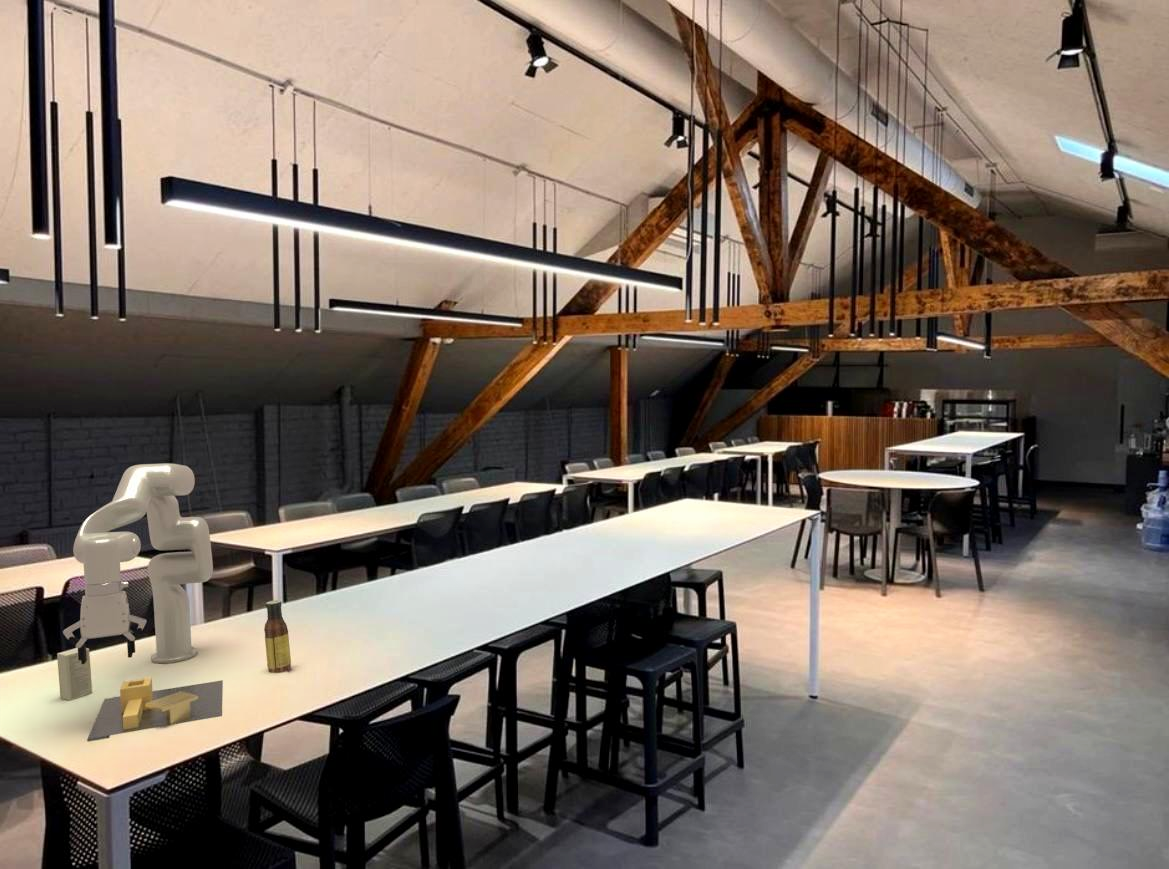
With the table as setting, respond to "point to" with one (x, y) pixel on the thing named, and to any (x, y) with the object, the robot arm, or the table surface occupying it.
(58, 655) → the skincare box
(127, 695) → the link
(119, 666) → the table surface
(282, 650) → the sauce bottle
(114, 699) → the pintle board
